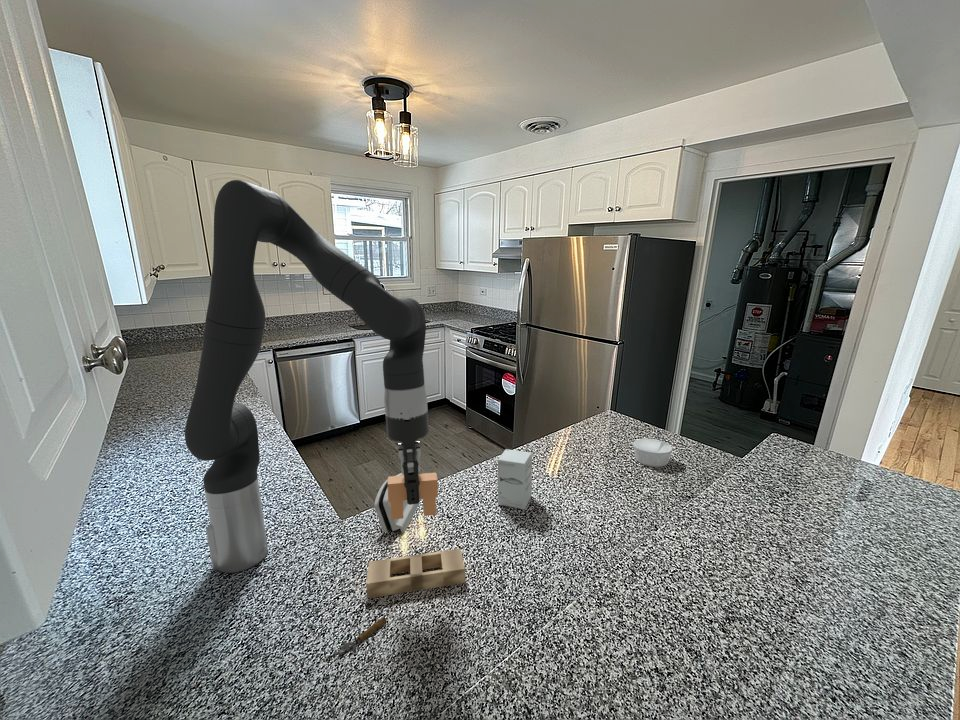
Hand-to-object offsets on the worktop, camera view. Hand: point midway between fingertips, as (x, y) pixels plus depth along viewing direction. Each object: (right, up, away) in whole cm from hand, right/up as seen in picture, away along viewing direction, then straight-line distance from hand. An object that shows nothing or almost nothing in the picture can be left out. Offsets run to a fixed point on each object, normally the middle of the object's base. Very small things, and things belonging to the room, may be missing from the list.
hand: (413, 497), depth 73 cm
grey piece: (-8, -13, +25) cm, 29 cm away
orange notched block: (0, -3, +1) cm, 3 cm away
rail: (0, -16, +2) cm, 17 cm away
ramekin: (+67, -6, +50) cm, 83 cm away
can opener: (-7, -19, -10) cm, 23 cm away
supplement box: (+22, -11, +29) cm, 38 cm away
